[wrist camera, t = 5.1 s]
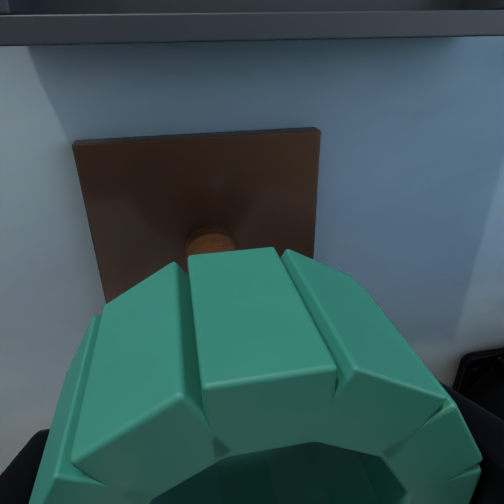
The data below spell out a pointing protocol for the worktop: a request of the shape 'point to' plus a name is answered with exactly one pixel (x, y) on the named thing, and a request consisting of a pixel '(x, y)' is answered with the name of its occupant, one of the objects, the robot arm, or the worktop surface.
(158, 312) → the ring
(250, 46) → the worktop surface
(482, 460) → the robot arm
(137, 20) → the tray
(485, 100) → the worktop surface
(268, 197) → the stand
